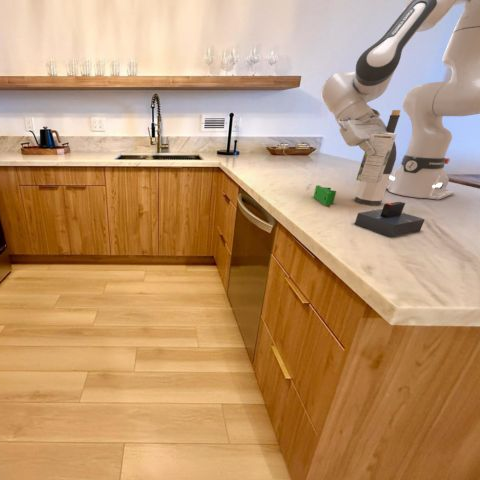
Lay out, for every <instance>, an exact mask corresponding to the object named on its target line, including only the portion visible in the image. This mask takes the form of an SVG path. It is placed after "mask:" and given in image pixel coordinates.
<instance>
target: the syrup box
mask: <svg viewBox="0 0 480 480" xmlns="http://www.w3.org/2000/svg"><path fill="white" fill-rule="evenodd" d="M396 138H397V133H395V132H394V133H388V132H375V133H371V134H370V139H369V141H368V142H369V143H368V144H369V145H370V146H371V147H372V148H374V149H375V151H376V154H374V155H373V156H368V155H367V153H366V152H365V151H364V153H363V156H362V159H361V162H360V166H359V169H358V173H357V175H356V178H355V179H356V181H359V182H360V181H366V182H374V183H377V182H379V181H380V180H381V178H382V175H383V172H384V169H385V167H386V164H387V161H388V158H389V155H390V152H391V149H392V146H393V143H394V141H395V140H396Z"/></svg>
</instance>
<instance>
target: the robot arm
mask: <svg viewBox="0 0 480 480" xmlns="http://www.w3.org/2000/svg"><path fill="white" fill-rule="evenodd" d="M461 4H464V9H463V11H462V13H461V15H460V16H459V19H458V20H457V22H456V24H455V27H454V28H453V31H452V33H451V36H450V38H449V40H448V43H447V46H446V48H445V50H444V53H443V55H442V58H441V60H442V64H443V65H444V66H445V67H446V68H447V69H449V70H451V77H450V80H448V81H447V80H445V81H435V82H433V81H432V82H426V83H422V84H420V85H415V86H412V88H411V89H410V90H408V91H407V93H406V94H405V95H404V97H403V100H402V109H403V111H404V112H405V114H406V115H407V116H408V117H409V119H410V123H411V137H410V140H409V143H408V147H407V149H406V153H405V154H404V155H403V157H402V159H401V162H400V164H401V165H400V167H398V168H396V169H395V171H394V173H393V176H392V175H390V178H389V180H391V181H390V182H389V185H388V184H387V187H386V190H387V191H388V192H390V193H392V194H396V195H400V196H403V197H409V198H418V199H430V200H441V199H444V198H447V197H449V196H452V195H453V191H451V190H448V189H447V187H448V184H449V182H450V178H449V177H448V175H447V174H446V172H445V170H444V168H445V165H448V164H449V163H450V158H449V157H448V158H446V154H447V152H448V149H449V147H450V144H451V142H452V140H453V134H452V132H451V131H450V130H448V129H447V128H446V127H444V124H443V117H469V116H474V115H479V114H480V0H408V2H407V3H406V4H405V6H404V8H403V10H402V12H401V14H400V15H399V16H398V18H397V19H396V20H395V21H394V22H393V24H392V25H390V27H389V29H388V30H387V31H386V32H385V33H384V35H383V36H382V37H381V38H380V39H378V41H376V42H375V43H374V44H372V45H370V47H368V48H367V49H366V50H364V52H362V53H361V54H360V56H359V57H358V58H357V61H356V64H355V70H354V71H347V72H341V71H338V72H335V73H333V74H332V75H331V76H330V77H328V79H327V80H325V82H324V84H323V85H322V87H321V91H320V95H321V98H322V100H323V102H324V104H325V106H326V107H327V109H328V111H329V112H330V113H332V114H333V117H334V119H335V122H336V123H337V124H338V126H339V129H338V130H339V133H340V135H341V137H342V139H343V140H344V142H345V144H346V145H347V146H348V147H359V148H360V149H361V150H362V151H363V152H364V153H365V152H366V153H367V155H368V156H373V155H374V154H376V151H375V149H374V148H372V147H371V146H370V145H369V144H368V143H369V142H368V141H369V139H370V134H371V133H375V132H387V131H386V128H387V125H386V124H385V122H384V121H383V119H382V118H381V117H380V116H381V113H380V112H379V111H378V110H377V109H375V108H372V107H371V105H369V104H368V103H369V102H372V101H374V100H376V99H378V98H379V97H381V96H382V95H383V94H384V93H385V92H386V90H387V89H388V87H389V85H390V83H391V81H392V77H393V75H394V73H395V71H396V69H397V67H398V65H400V64H399V63H400V60H401V58H402V53H403V49H404V48H405V47H406V45H407V44H408V43H409V42H410V41H411V39H412V38H413V37H414V35H415V34H416V33H422V32H426V31H429V30H431V29H433V28H434V27H435V26H437V24H438V23H439V22H440V21H442V19H444V17H445V16H446V15H447V14H448V13H449V12H450V10H451V9H452V8H453V6H455V5H461Z"/></svg>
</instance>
